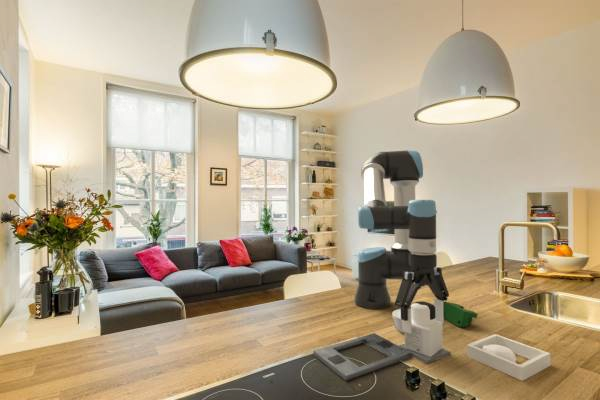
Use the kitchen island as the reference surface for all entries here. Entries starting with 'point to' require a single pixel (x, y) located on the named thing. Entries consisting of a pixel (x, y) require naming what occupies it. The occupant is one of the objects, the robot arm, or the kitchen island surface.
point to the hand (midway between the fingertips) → (423, 326)
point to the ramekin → (398, 320)
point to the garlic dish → (521, 372)
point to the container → (424, 330)
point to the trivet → (427, 359)
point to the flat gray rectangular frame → (350, 369)
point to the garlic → (501, 352)
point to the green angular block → (458, 314)
